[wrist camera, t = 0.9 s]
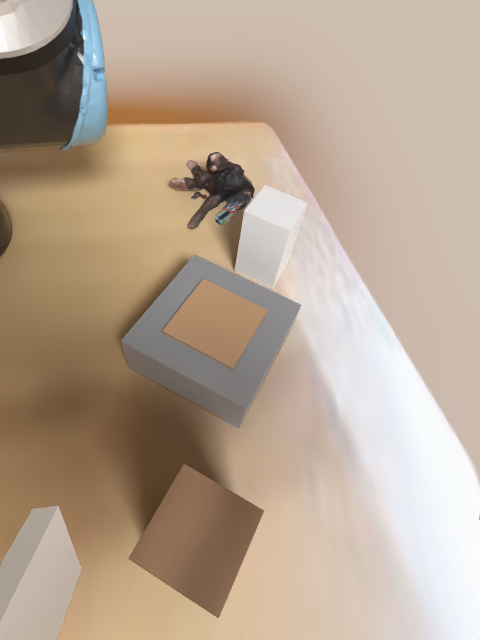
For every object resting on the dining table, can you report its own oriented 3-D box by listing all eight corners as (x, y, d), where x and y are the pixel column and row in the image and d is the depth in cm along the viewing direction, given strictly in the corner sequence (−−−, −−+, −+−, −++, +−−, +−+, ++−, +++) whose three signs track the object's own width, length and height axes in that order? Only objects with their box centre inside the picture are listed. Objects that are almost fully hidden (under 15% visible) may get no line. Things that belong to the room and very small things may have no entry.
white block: (234, 271, 43) (244, 210, 36) (252, 246, 46) (265, 185, 39) (272, 288, 42) (290, 230, 35) (288, 262, 45) (308, 203, 38)
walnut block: (148, 560, 27) (128, 558, 18) (185, 494, 29) (183, 463, 20) (208, 599, 26) (218, 618, 17) (240, 527, 28) (264, 510, 19)
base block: (128, 367, 35) (119, 339, 30) (193, 285, 41) (194, 252, 37) (238, 428, 33) (246, 407, 28) (289, 332, 39) (301, 303, 35)
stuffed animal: (244, 155, 55) (267, 151, 45) (244, 221, 59) (264, 232, 48) (166, 154, 53) (170, 149, 42) (170, 223, 57) (175, 235, 46)
